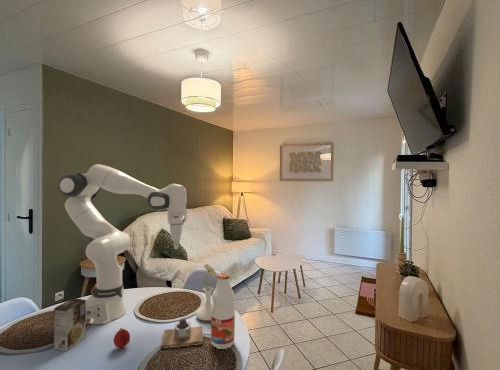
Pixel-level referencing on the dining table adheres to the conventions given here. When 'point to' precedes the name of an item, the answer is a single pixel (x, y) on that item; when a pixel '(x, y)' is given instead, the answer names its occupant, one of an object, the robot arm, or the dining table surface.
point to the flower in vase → (207, 298)
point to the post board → (170, 341)
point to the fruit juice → (223, 313)
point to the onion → (121, 338)
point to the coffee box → (69, 324)
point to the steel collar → (182, 332)
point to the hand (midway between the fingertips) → (176, 246)
